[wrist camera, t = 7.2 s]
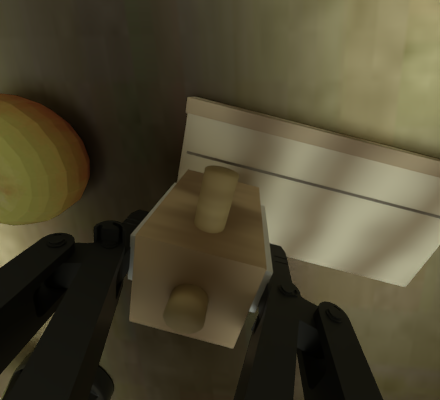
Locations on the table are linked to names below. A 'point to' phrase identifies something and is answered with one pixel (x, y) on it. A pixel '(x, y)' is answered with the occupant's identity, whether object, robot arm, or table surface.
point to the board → (324, 189)
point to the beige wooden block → (200, 258)
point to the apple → (38, 162)
